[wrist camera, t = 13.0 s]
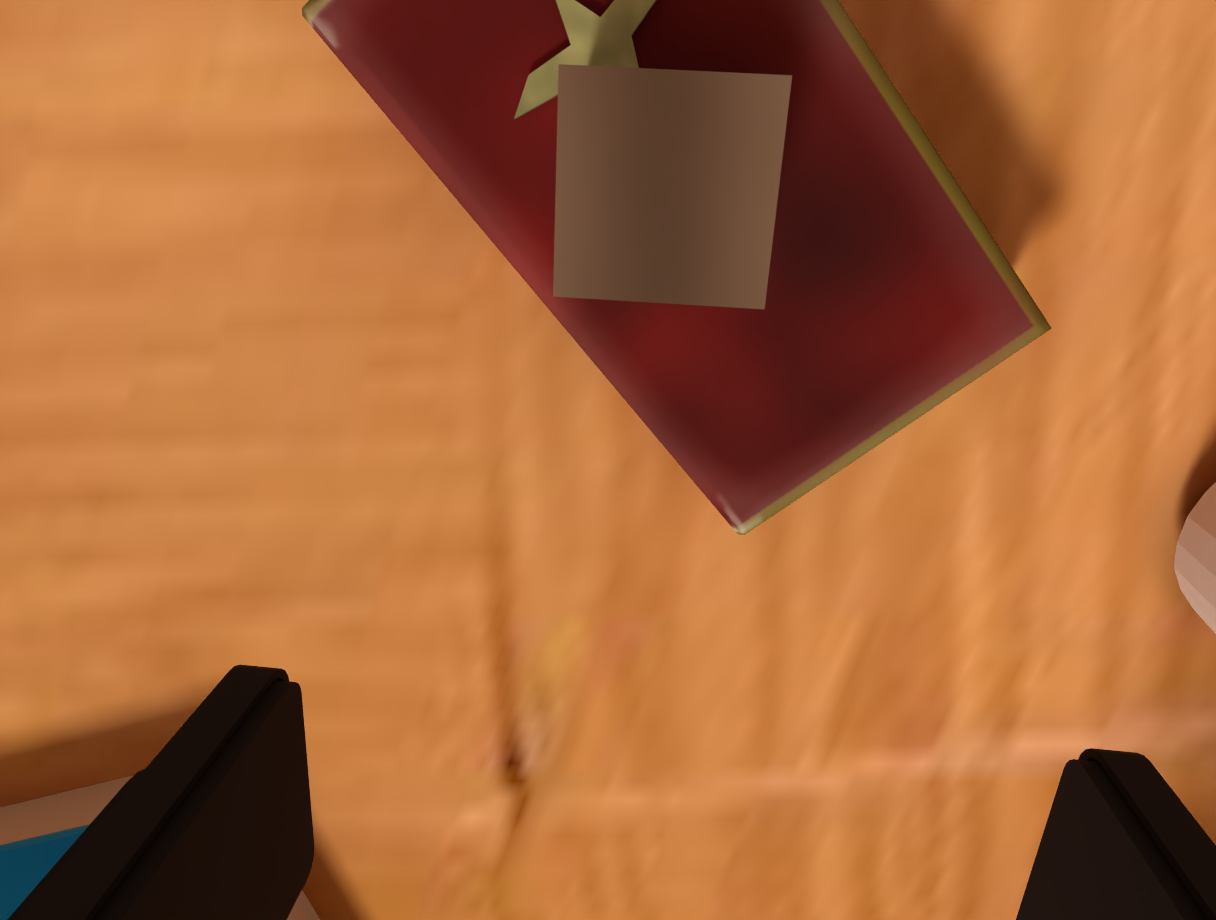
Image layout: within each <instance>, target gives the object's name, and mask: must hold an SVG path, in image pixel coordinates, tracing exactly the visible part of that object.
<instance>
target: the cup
mask: <svg viewBox="0 0 1216 920" xmlns="http://www.w3.org/2000/svg"><path fill="white" fill-rule="evenodd" d="M1174 570H1175V573H1176V577H1177V580H1178V583H1179V587H1180V590H1181V591H1182V593H1183V594H1184V596H1185V597H1186V599H1187V600H1188V602H1189V603H1190V605H1191V607H1192V608H1193V609H1194V610H1195V612H1196V613H1197V614H1198V615H1199V616H1200V617H1201V618H1202V619H1203V620H1204V622H1205V623H1206V624H1207V625H1208V626H1209V627H1210V628H1211V629H1212V630H1213V632H1214V633H1215V634H1216V482H1215V483H1214V484H1213V485H1212V486H1211V487H1210V488H1209V489H1208V490H1207V491H1206V492H1205V493H1204V495H1203V496H1202V497H1201V499H1200V500H1199V501H1198V503H1197V504H1196V505H1195V507H1194V508H1193V509H1192V511H1191V512H1190V514H1189V515H1188V516H1187V519H1186V521H1185V524H1184V526H1183V529H1182V531H1181V534H1180V536H1179V539H1178V541H1177V547H1176V554H1175V561H1174Z"/></svg>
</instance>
